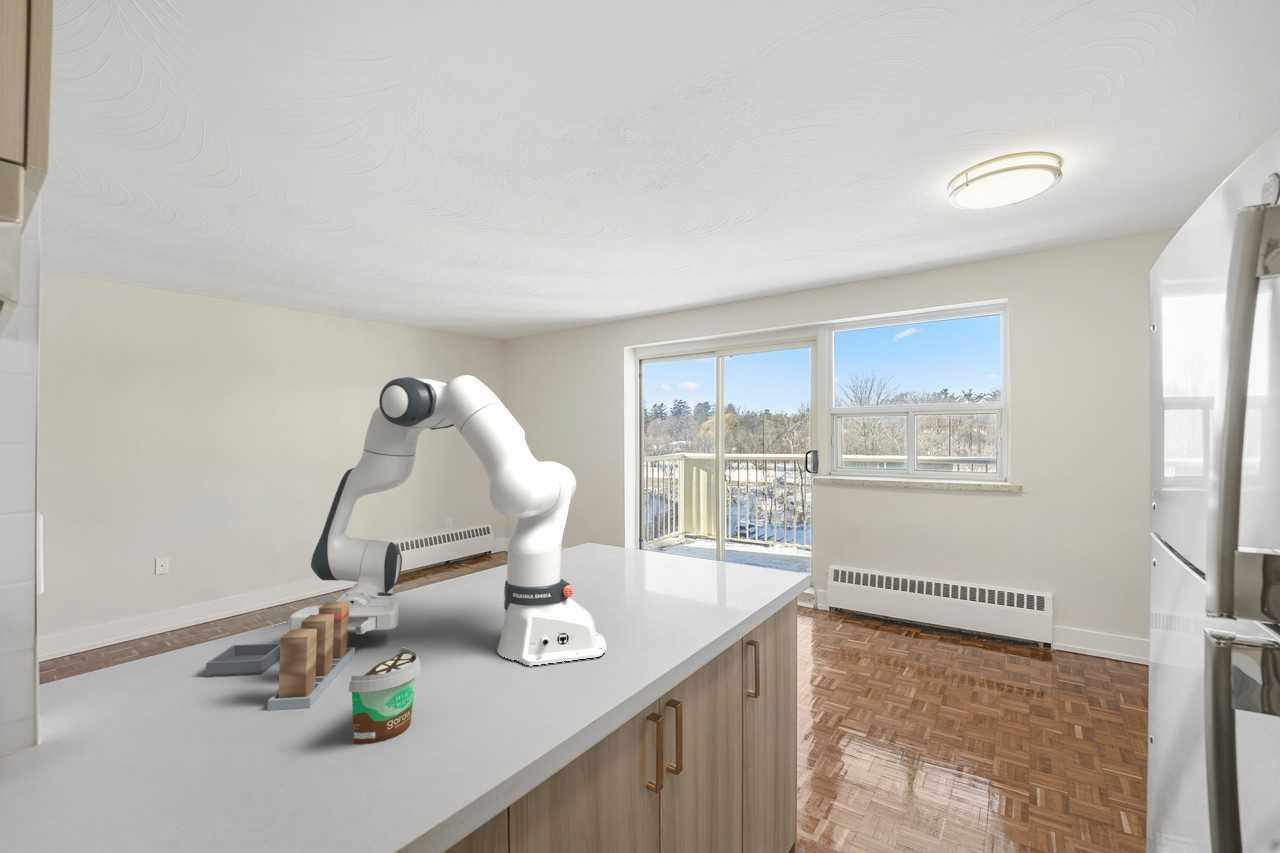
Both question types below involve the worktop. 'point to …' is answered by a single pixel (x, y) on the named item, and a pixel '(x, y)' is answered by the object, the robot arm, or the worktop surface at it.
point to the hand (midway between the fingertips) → (333, 631)
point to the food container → (384, 698)
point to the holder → (320, 686)
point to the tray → (244, 660)
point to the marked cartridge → (338, 626)
